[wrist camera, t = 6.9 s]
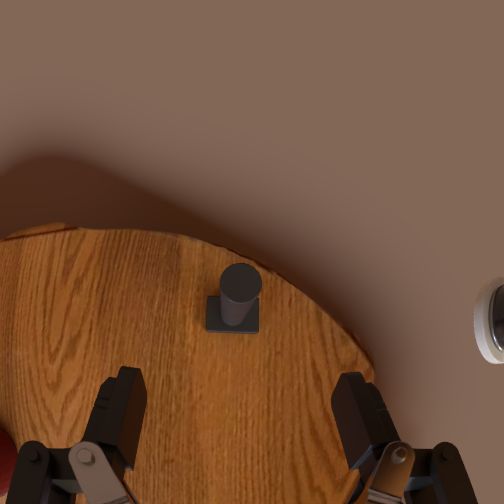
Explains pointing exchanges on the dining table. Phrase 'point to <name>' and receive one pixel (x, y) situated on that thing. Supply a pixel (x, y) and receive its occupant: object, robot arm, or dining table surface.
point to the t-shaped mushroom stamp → (235, 301)
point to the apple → (6, 461)
